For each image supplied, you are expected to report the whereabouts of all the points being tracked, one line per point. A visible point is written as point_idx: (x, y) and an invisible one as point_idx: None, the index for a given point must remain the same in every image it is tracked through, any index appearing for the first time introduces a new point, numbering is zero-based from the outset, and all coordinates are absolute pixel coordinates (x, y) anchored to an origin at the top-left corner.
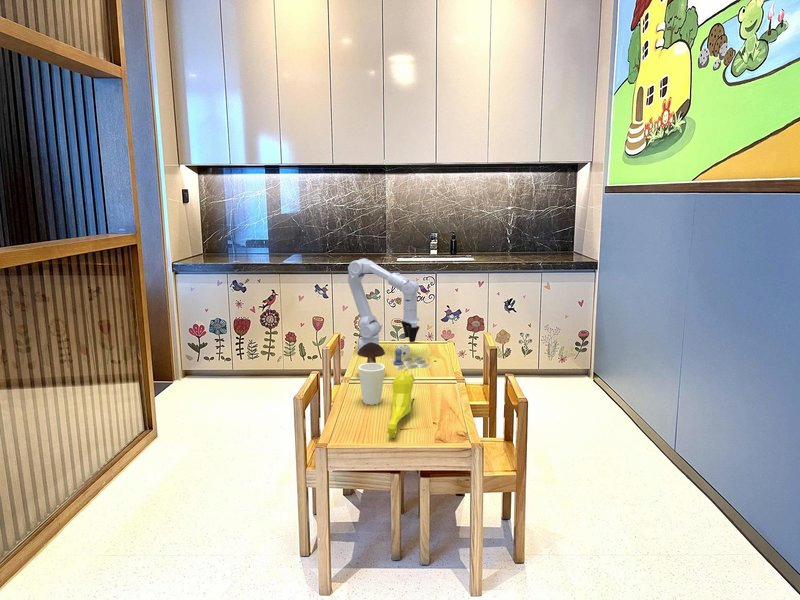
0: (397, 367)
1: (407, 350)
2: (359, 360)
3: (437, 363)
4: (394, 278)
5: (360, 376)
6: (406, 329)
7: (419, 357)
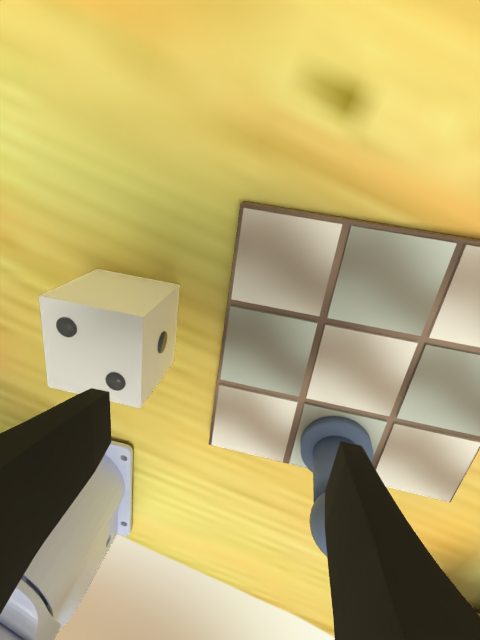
0: (410, 482)
1: (153, 327)
2: (143, 536)
3: (423, 105)
4: None
5: None
6: (23, 534)
7: (250, 237)
